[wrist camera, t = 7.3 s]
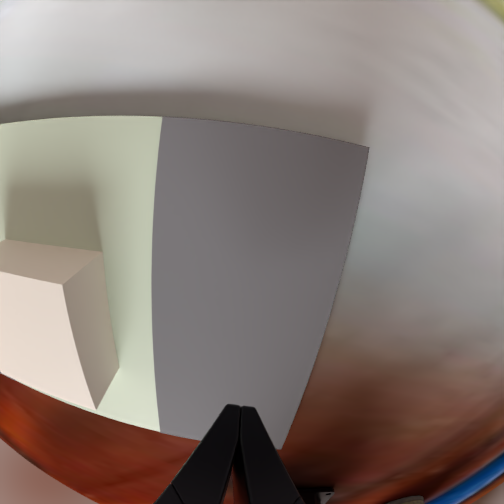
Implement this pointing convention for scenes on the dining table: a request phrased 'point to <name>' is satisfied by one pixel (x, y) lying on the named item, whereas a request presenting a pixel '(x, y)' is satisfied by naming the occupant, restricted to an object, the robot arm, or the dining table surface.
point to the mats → (245, 266)
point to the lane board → (94, 226)
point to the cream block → (56, 321)
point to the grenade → (409, 500)
